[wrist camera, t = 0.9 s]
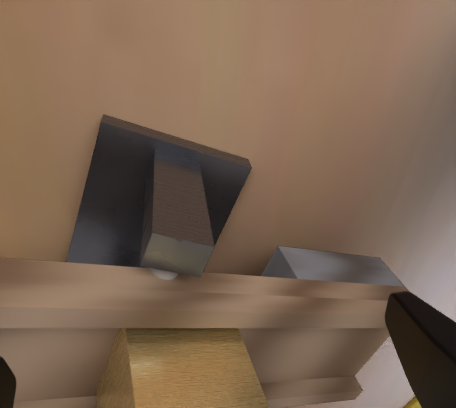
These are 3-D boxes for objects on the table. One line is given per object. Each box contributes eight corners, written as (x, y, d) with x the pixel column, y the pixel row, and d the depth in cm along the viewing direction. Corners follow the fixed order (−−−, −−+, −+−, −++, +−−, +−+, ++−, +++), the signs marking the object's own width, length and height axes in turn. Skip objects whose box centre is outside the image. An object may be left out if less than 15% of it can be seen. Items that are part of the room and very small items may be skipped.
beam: (384, 252, 25) (436, 309, 21) (316, 342, 29) (350, 403, 25) (-348, 158, 11) (-544, 277, 8) (-277, 355, 15) (-383, 492, 12)
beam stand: (248, 159, 22) (285, 250, 15) (171, 324, 29) (174, 437, 22) (103, 114, 19) (74, 200, 13) (55, 306, 26) (19, 429, 19)
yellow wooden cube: (233, 317, 18) (277, 429, 14) (196, 382, 20) (225, 493, 16) (123, 315, 15) (140, 448, 12) (96, 389, 18) (102, 521, 14)
